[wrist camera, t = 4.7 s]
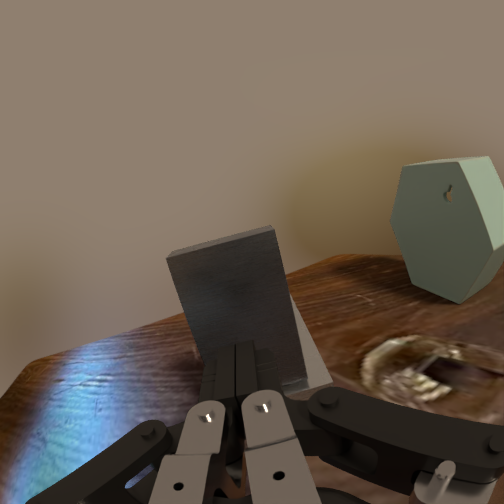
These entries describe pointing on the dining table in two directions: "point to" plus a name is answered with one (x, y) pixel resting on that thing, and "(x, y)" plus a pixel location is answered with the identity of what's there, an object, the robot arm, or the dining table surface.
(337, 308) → the dining table surface
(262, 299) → the dark grey tapered block
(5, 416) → the dining table surface
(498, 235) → the mint hexagonal prism
